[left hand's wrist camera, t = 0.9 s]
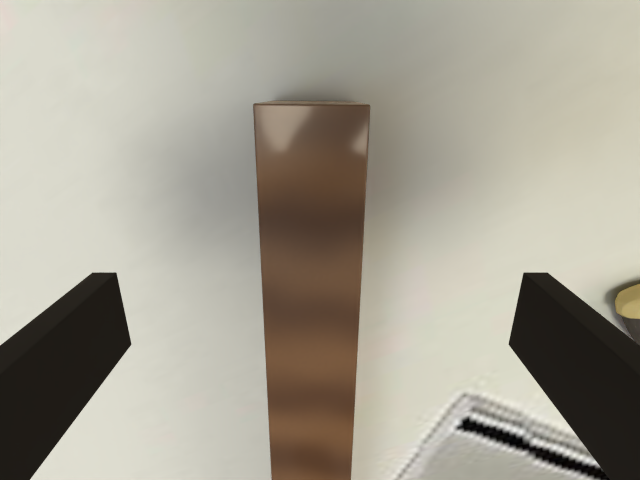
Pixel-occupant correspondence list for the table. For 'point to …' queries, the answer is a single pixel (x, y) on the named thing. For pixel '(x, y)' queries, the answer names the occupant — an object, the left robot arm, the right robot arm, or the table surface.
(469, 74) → the table surface
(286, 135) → the beam
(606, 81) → the table surface
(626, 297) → the toy gun
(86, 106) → the table surface
